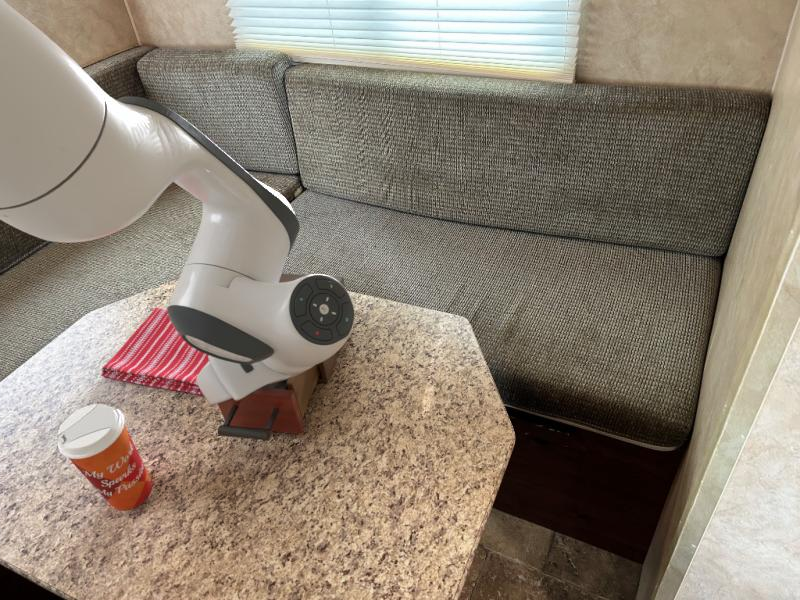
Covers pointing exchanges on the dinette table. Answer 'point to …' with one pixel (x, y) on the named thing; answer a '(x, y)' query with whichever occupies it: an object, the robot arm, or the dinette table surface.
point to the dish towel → (158, 357)
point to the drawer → (270, 409)
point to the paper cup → (105, 455)
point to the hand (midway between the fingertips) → (262, 358)
